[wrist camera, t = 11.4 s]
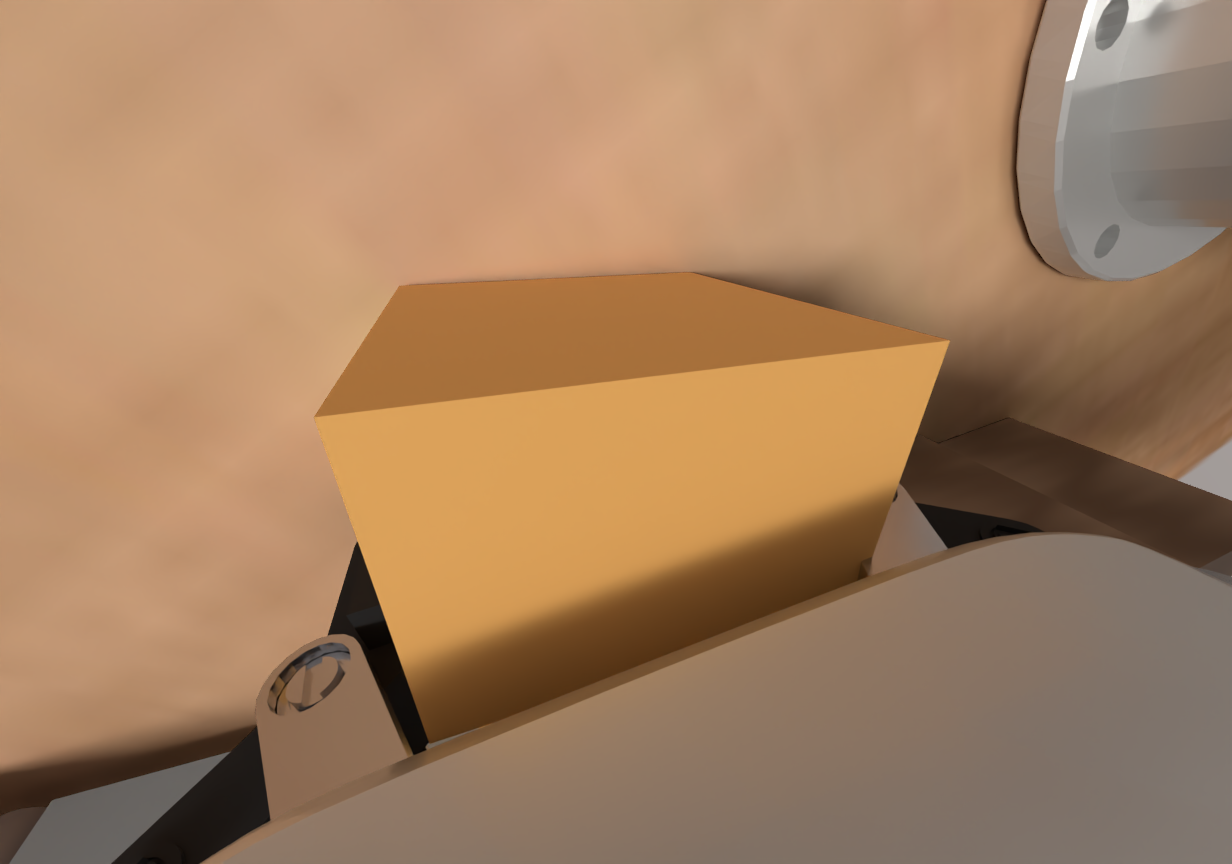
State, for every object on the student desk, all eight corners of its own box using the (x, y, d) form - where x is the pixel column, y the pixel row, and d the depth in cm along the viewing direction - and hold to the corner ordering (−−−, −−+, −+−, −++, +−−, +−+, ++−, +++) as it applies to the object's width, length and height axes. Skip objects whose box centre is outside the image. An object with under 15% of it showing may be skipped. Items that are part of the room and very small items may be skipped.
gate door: (9, 846, 10) (-452, 1511, 5) (-23, 820, 9) (-579, 1536, 4) (778, 623, 16) (924, 806, 11) (785, 600, 16) (942, 782, 11)
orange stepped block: (399, 286, 8) (312, 417, 3) (690, 272, 10) (950, 340, 5) (483, 666, 13) (504, 954, 8) (664, 612, 15) (776, 822, 10)
